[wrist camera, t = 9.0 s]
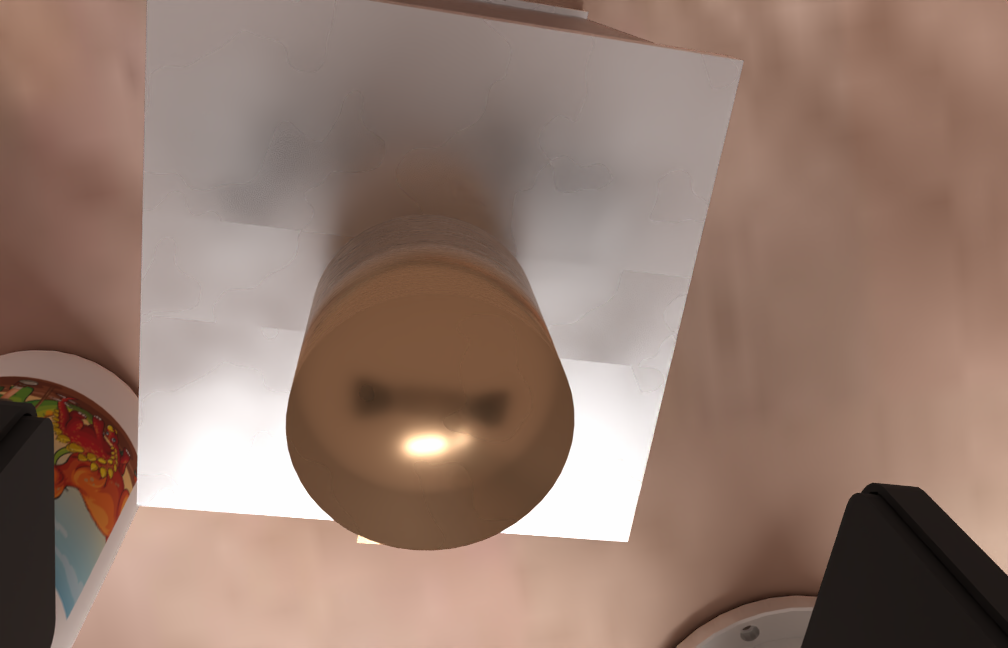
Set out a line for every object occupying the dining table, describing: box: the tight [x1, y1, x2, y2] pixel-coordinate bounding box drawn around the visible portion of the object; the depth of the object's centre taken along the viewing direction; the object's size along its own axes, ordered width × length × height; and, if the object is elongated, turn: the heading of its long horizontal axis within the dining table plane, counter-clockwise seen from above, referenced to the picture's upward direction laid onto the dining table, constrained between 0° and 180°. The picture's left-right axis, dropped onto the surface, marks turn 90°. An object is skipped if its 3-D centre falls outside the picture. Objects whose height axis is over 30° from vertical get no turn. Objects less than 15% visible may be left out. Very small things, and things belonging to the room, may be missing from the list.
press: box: [137, 0, 744, 544], centre depth 26 cm, size 10×13×16 cm
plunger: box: [286, 214, 575, 550], centre depth 22 cm, size 8×8×20 cm
